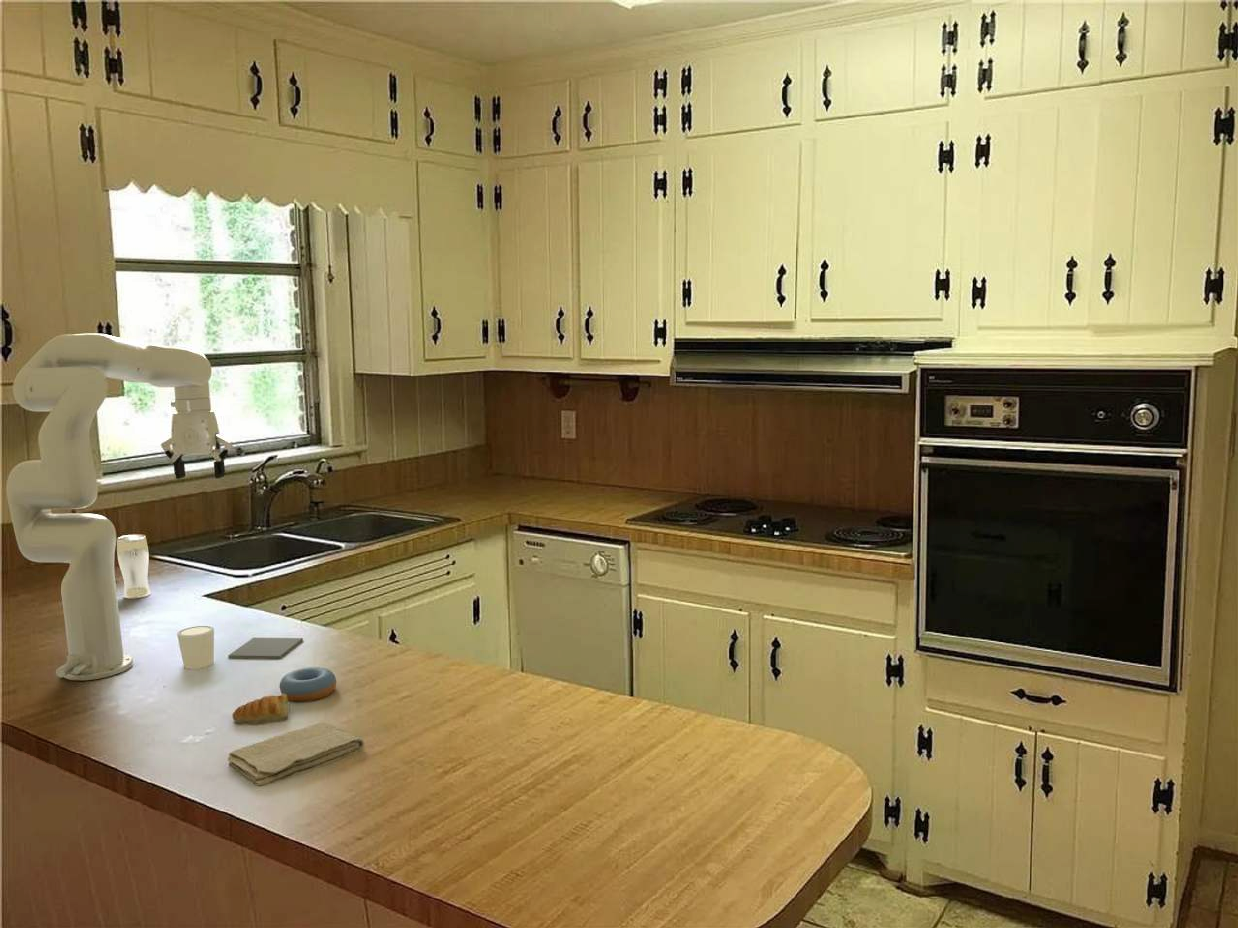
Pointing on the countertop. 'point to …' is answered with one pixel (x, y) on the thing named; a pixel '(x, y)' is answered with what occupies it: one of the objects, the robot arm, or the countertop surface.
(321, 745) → the washcloth
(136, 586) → the beer glass
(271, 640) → the mat
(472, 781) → the countertop surface
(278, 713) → the pastry
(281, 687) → the doughnut
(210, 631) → the white cup
